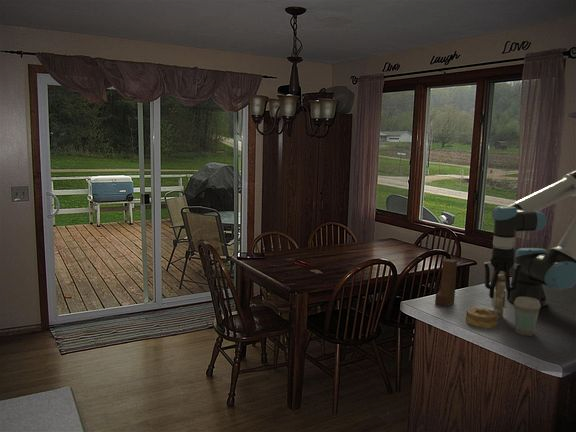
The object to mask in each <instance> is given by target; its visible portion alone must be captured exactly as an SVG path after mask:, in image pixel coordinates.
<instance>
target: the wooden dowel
mask: <svg viewBox="0 0 576 432" xmlns="http://www.w3.org/2000/svg"><path fill="white" fill-rule="evenodd" d="M505 282H506V276H505V275H504V273H503V274H502V273H499V274H498V278H497V282H496V285H495V290H496V302H495V307H493V310H492V311H495V312H496V313H497V315H498V318H501V317H503V316H504V307H503V306H504V294H505V290H506V287H505Z"/></svg>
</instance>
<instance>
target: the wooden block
mask: <svg viewBox="0 0 576 432" xmlns="http://www.w3.org/2000/svg"><path fill="white" fill-rule="evenodd" d="M441 267H442V269H441V282H440V289H439V290H438V292H437V293H435V301H434V304H435V305H436V306H440V307H443V308H445V307H448V306H450V305H451V304H454V303H455V297H456V284H457V283H456V281H457V269H458V268H457V267H458V261H457V259H456V260H455V259H450V258H447V259H444V260H442V265H441Z"/></svg>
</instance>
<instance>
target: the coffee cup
mask: <svg viewBox="0 0 576 432" xmlns="http://www.w3.org/2000/svg"><path fill="white" fill-rule="evenodd" d="M513 305H514V322H515V323H514V324H515V330H514V331H515V333H517V334H519V335H522V336H526V337H527V336H534V334H535V330H536V327H537V326H536V325H537V320H538V317H539V313H540V309H541V308H542V307H541V305H540V302H539V300H537V299H534V298H531V297H517V298H516V299H515V301H514V303H513Z"/></svg>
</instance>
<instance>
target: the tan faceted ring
mask: <svg viewBox="0 0 576 432" xmlns="http://www.w3.org/2000/svg"><path fill="white" fill-rule="evenodd" d="M472 307H473V306H472ZM465 315H466V316H465V320H466V322H467V323H468V325H470V326H471V325H472V326H473V327H474V326H475V327H477V328H487V329H491V328H495V327H497V325H498V319H499V317H498V315H497V313H496V312H495V311H493V310H492V309H489V308H484V307H473V308H470V307H469V308H467V309H466V314H465ZM494 326H495V327H494Z"/></svg>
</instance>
